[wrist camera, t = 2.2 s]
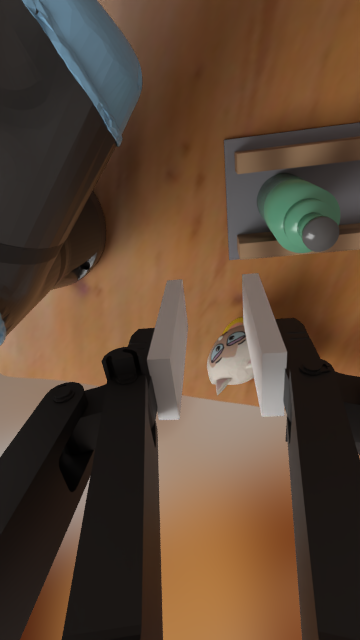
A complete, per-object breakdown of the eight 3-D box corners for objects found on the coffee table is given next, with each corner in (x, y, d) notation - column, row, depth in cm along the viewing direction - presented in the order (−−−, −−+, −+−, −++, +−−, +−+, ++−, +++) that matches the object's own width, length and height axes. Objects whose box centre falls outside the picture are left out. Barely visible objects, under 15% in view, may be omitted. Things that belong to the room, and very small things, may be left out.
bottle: (256, 226, 38) (281, 273, 26) (256, 176, 36) (284, 200, 23) (304, 221, 38) (355, 267, 25) (308, 169, 35) (366, 191, 22)
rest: (237, 249, 40) (240, 259, 37) (234, 151, 35) (237, 153, 31) (415, 233, 37) (434, 242, 34) (440, 126, 32) (465, 125, 29)
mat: (229, 258, 41) (229, 259, 40) (223, 140, 34) (224, 140, 34) (420, 242, 38) (422, 243, 38) (452, 110, 32) (455, 110, 32)
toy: (244, 276, 42) (261, 341, 29) (338, 359, 47) (388, 445, 34) (196, 321, 46) (193, 397, 33) (289, 393, 51) (317, 483, 38)
